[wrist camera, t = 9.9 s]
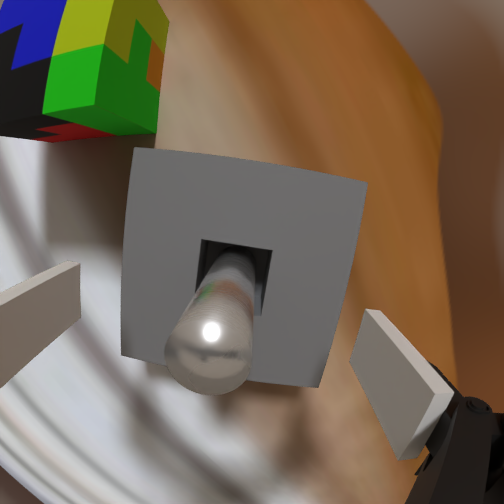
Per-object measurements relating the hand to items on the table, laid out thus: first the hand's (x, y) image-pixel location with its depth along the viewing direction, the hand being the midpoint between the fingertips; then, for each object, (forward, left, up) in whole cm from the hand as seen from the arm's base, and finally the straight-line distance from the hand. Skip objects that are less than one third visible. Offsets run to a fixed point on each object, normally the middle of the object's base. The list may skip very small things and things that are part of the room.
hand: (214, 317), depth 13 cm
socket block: (0, 0, -11) cm, 11 cm away
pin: (0, 0, -9) cm, 9 cm away
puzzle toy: (-13, +13, -11) cm, 21 cm away
